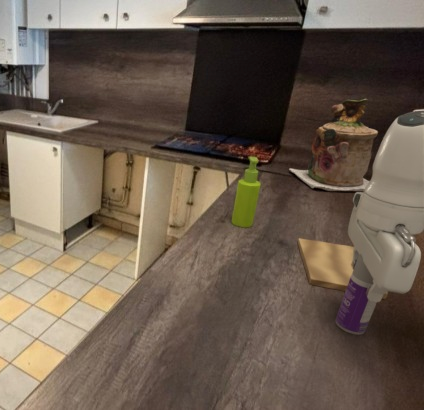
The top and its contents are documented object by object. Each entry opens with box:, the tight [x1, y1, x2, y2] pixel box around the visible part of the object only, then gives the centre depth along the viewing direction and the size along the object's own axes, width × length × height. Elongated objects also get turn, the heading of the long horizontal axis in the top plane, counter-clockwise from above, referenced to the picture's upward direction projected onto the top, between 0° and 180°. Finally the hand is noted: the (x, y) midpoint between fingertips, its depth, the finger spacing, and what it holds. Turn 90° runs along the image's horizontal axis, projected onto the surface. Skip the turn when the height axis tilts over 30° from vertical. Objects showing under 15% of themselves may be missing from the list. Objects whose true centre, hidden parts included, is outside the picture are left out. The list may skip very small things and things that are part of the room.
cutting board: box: [297, 237, 389, 300], centre depth 85 cm, size 14×20×2 cm
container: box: [335, 254, 378, 335], centre depth 65 cm, size 5×5×15 cm
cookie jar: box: [288, 98, 379, 192], centre depth 134 cm, size 25×25×32 cm
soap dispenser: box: [230, 156, 262, 228], centre depth 104 cm, size 6×7×20 cm
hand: (363, 283), depth 64 cm, fingers open, 8 cm apart
